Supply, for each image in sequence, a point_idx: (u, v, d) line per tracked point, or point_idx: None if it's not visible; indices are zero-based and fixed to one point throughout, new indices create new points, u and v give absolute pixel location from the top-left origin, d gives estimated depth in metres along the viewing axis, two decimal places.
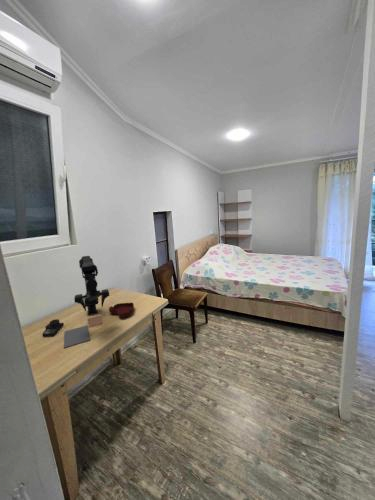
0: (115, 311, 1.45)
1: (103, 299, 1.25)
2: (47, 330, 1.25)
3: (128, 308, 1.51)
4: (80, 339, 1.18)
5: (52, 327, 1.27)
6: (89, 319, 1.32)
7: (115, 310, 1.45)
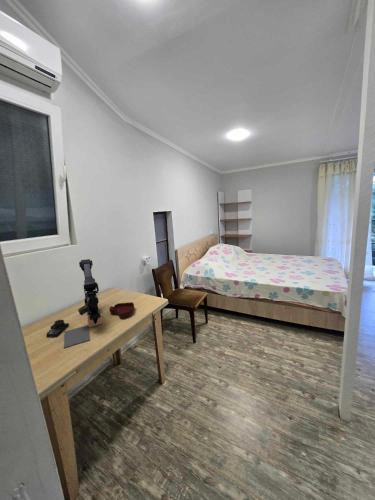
0: (115, 311, 1.45)
1: None
2: (51, 330, 1.25)
3: (128, 308, 1.52)
4: (80, 339, 1.18)
5: (56, 327, 1.26)
6: (89, 319, 1.32)
7: (115, 310, 1.45)
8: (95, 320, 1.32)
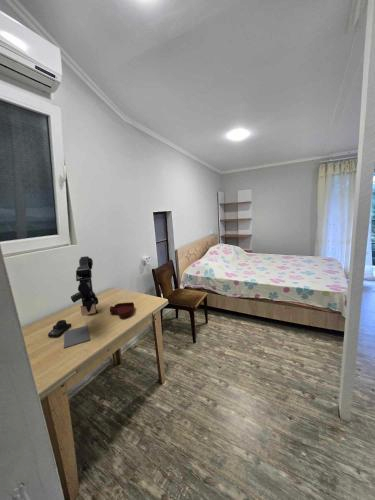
0: (116, 311, 1.45)
1: None
2: (53, 330, 1.25)
3: (128, 308, 1.52)
4: (80, 339, 1.18)
5: (58, 328, 1.26)
6: (82, 308, 1.26)
7: (116, 310, 1.45)
8: (88, 308, 1.27)
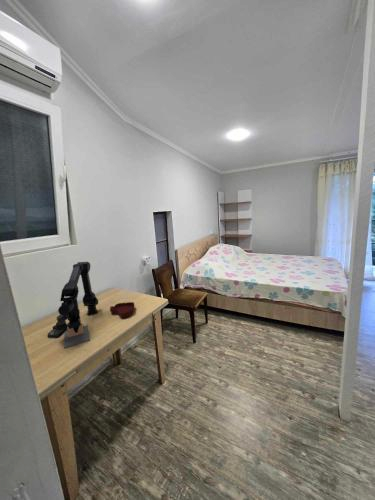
0: (116, 311, 1.46)
1: None
2: (53, 331, 1.24)
3: (129, 308, 1.52)
4: (80, 339, 1.18)
5: (58, 328, 1.26)
6: (69, 329, 1.20)
7: (116, 310, 1.46)
8: (76, 329, 1.20)
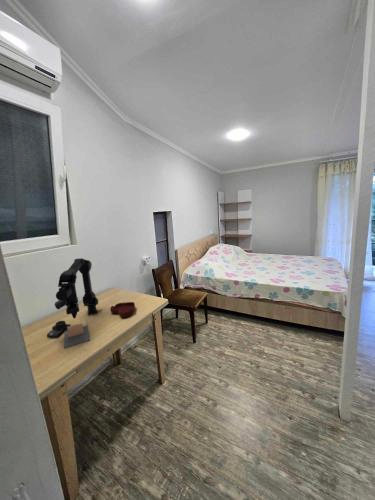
0: (116, 310, 1.46)
1: None
2: (52, 331, 1.24)
3: (129, 307, 1.52)
4: (80, 339, 1.18)
5: (57, 328, 1.25)
6: (69, 329, 1.20)
7: (116, 309, 1.46)
8: (74, 314, 1.21)
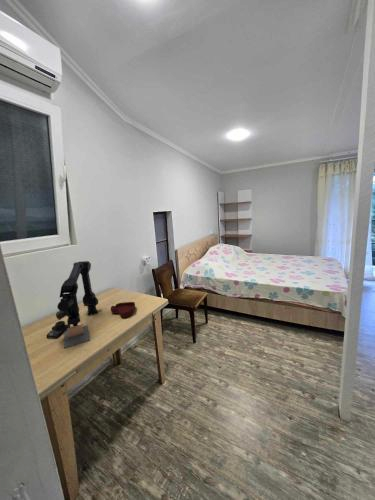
0: (117, 310, 1.46)
1: None
2: (52, 331, 1.24)
3: (129, 307, 1.52)
4: (80, 339, 1.18)
5: (57, 329, 1.25)
6: (69, 330, 1.19)
7: (117, 309, 1.46)
8: (75, 324, 1.21)
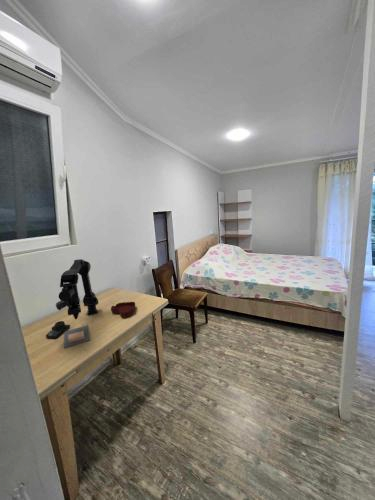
0: (117, 310, 1.46)
1: None
2: (51, 332, 1.23)
3: (130, 307, 1.53)
4: (80, 339, 1.18)
5: (56, 329, 1.25)
6: None
7: (117, 309, 1.46)
8: (76, 315, 1.18)
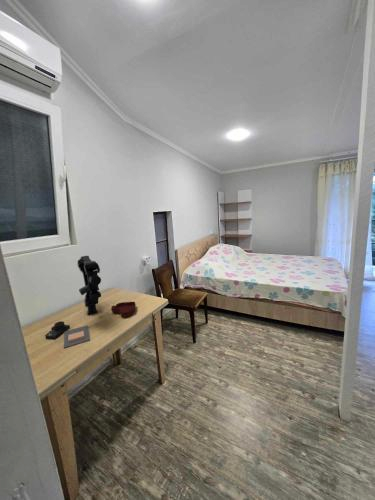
0: (117, 310, 1.46)
1: None
2: (51, 332, 1.23)
3: (130, 307, 1.53)
4: (80, 339, 1.18)
5: (56, 329, 1.24)
6: None
7: (117, 309, 1.46)
8: (95, 300, 1.34)
